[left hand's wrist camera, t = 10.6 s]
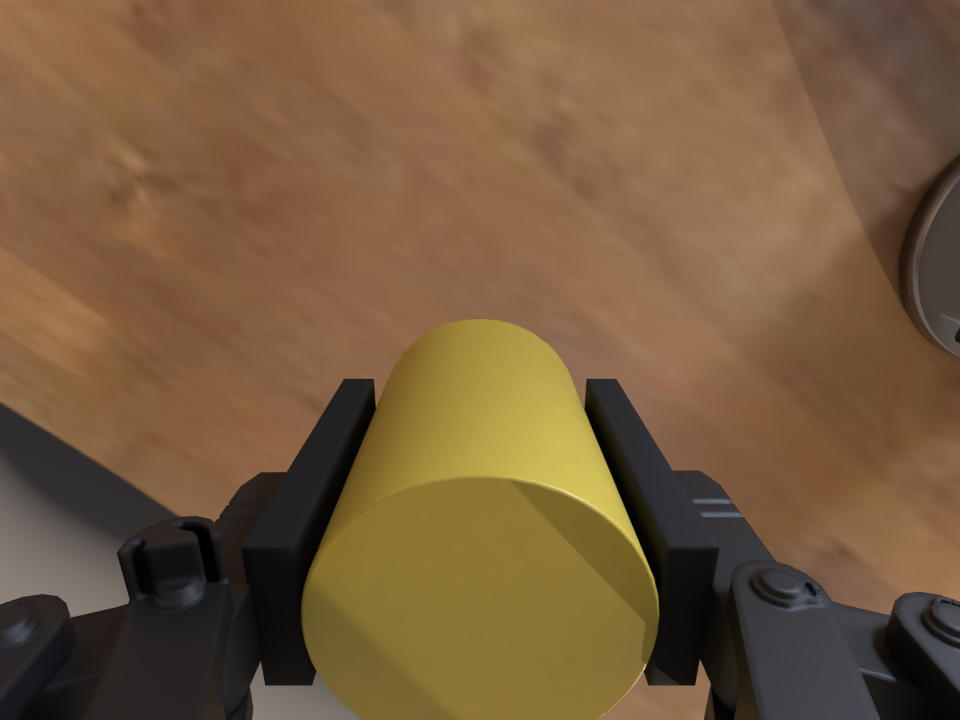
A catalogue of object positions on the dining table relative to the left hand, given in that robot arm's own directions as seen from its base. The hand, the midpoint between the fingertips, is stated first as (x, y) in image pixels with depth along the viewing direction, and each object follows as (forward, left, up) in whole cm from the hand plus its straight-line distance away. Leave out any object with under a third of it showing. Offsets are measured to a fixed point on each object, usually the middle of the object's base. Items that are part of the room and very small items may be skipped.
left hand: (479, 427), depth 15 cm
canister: (0, 0, -1) cm, 1 cm away
